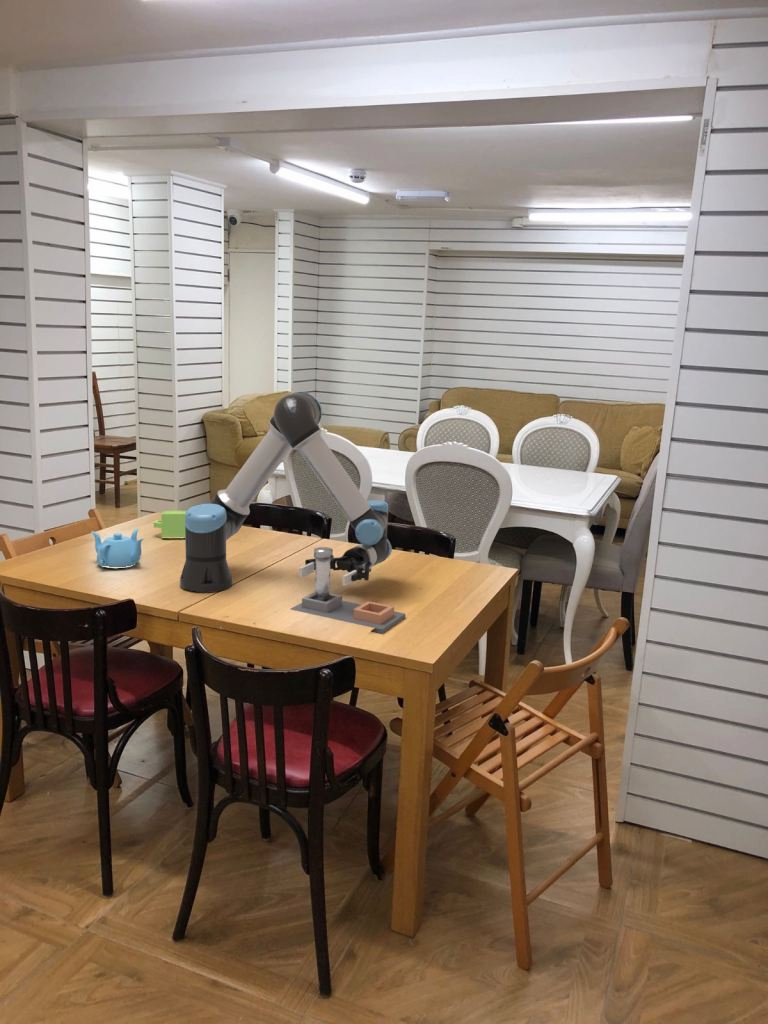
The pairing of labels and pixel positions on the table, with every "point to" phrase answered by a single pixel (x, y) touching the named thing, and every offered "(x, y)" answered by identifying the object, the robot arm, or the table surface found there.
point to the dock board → (352, 612)
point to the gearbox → (172, 523)
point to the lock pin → (322, 573)
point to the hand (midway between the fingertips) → (321, 576)
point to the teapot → (118, 550)
